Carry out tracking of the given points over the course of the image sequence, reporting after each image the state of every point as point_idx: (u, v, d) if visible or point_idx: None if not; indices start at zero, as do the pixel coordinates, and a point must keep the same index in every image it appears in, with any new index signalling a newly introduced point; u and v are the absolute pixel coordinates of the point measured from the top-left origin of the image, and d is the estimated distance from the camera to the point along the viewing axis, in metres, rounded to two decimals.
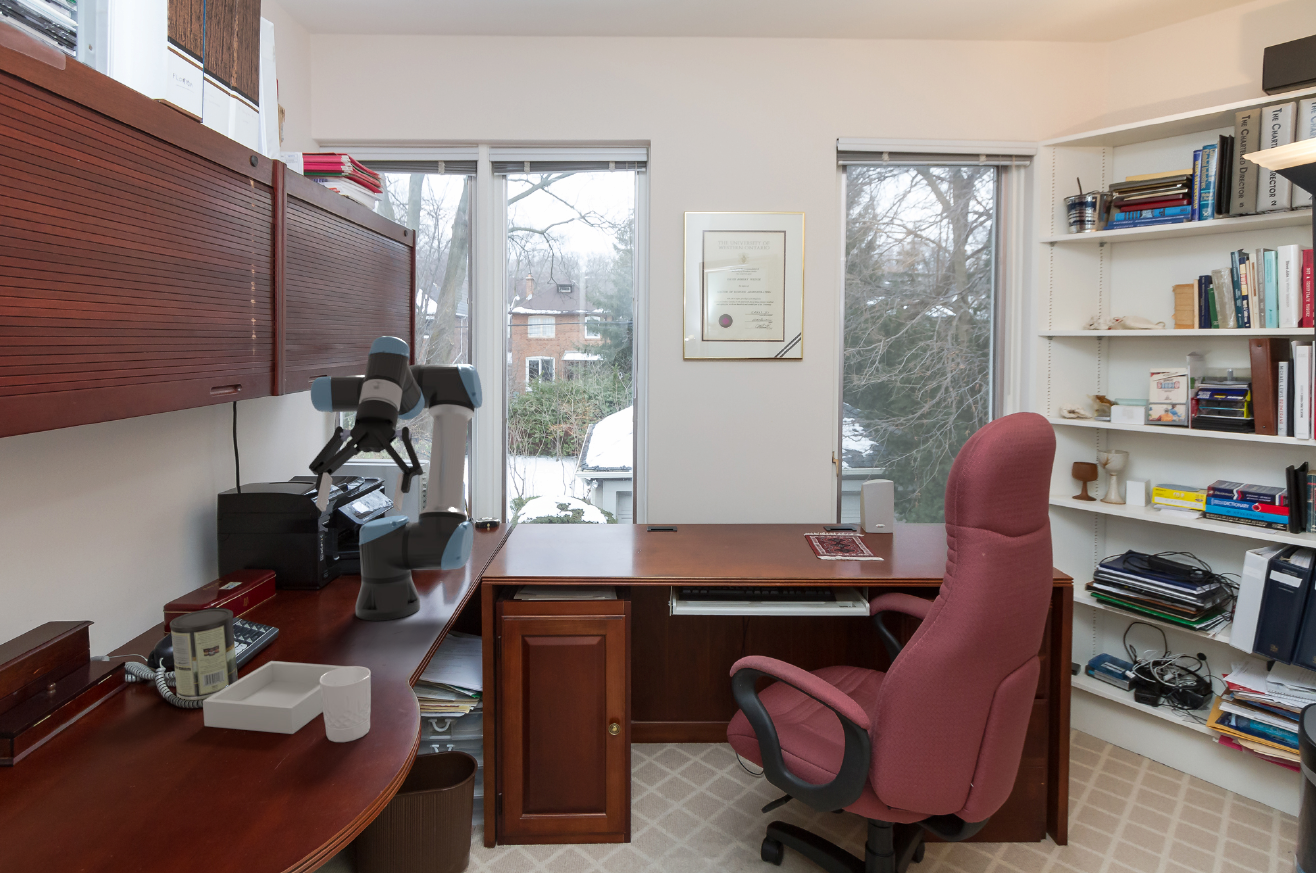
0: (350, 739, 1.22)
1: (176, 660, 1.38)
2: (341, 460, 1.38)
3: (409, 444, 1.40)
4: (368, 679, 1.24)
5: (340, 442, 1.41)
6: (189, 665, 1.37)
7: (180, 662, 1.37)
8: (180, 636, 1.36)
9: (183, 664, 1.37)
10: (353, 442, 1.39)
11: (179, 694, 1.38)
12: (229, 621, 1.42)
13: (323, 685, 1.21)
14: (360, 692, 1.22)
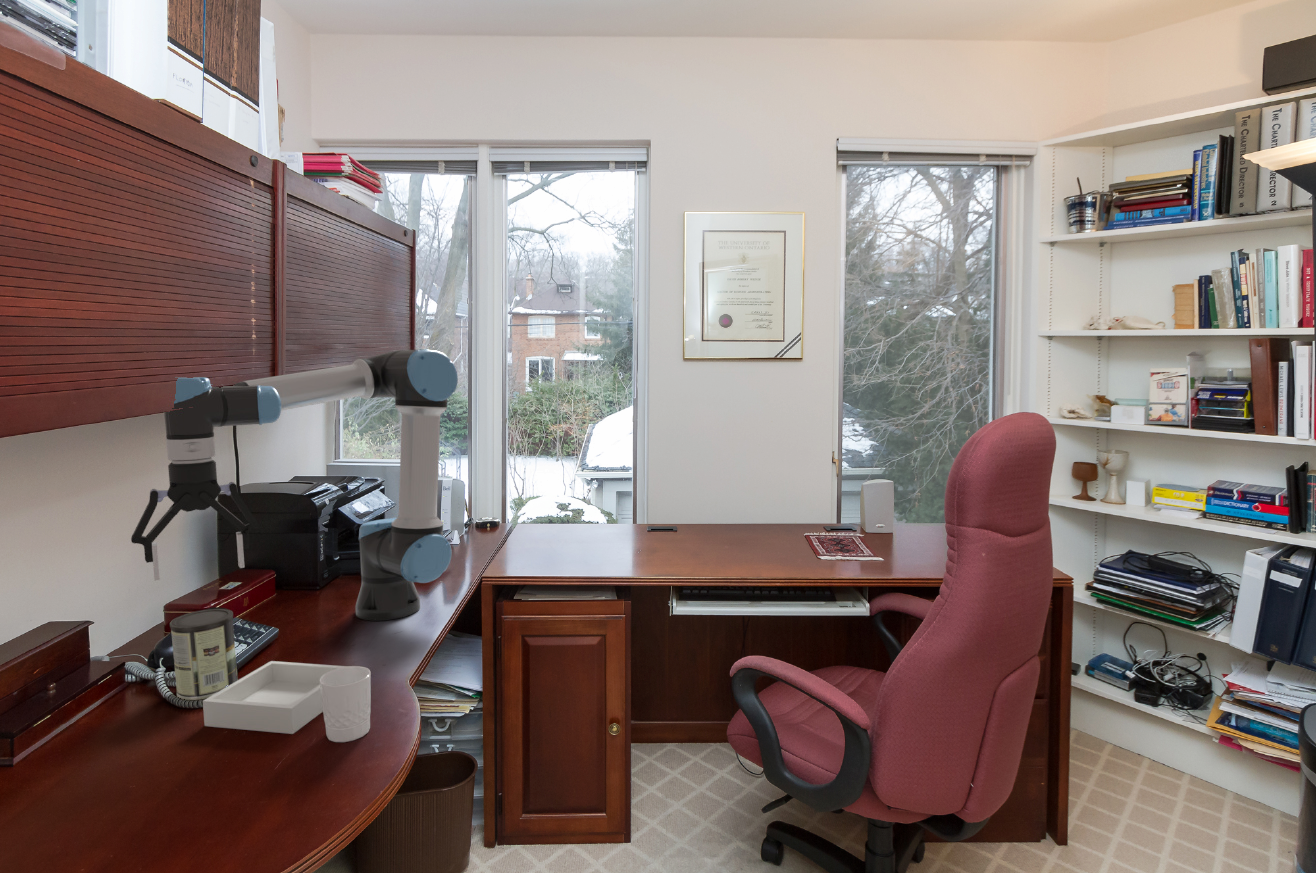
0: (350, 739, 1.22)
1: (176, 660, 1.38)
2: None
3: (241, 502, 1.42)
4: (368, 679, 1.24)
5: None
6: (189, 665, 1.37)
7: (180, 662, 1.37)
8: (181, 636, 1.36)
9: (183, 664, 1.37)
10: (178, 509, 1.36)
11: (179, 694, 1.38)
12: (229, 621, 1.42)
13: (323, 685, 1.21)
14: (360, 692, 1.22)
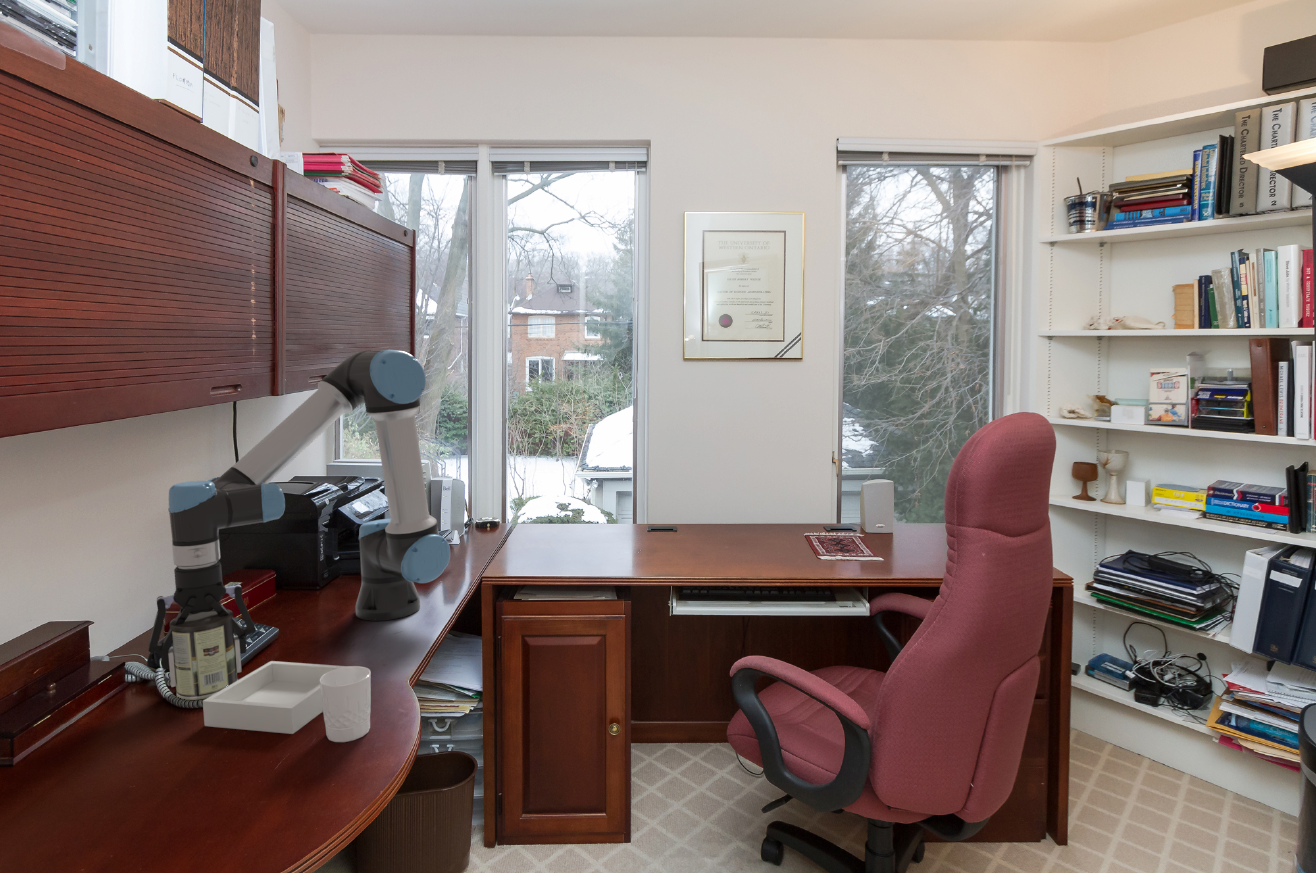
0: (350, 739, 1.22)
1: (176, 660, 1.38)
2: None
3: (243, 606, 1.44)
4: (368, 679, 1.24)
5: None
6: (189, 665, 1.37)
7: (179, 662, 1.37)
8: (180, 636, 1.36)
9: (183, 664, 1.37)
10: (187, 614, 1.38)
11: (179, 694, 1.38)
12: (229, 621, 1.42)
13: (323, 685, 1.21)
14: (360, 692, 1.22)
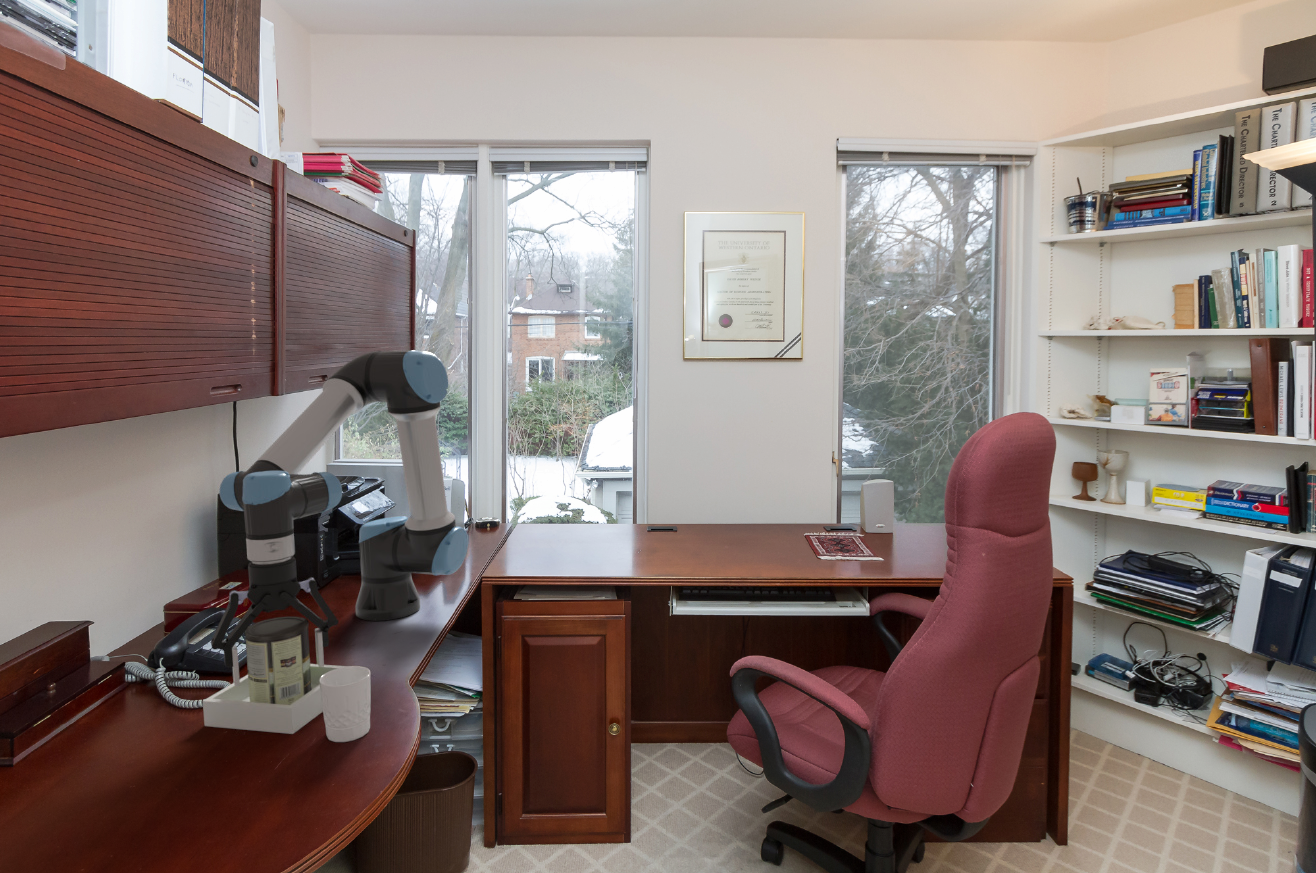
0: (350, 739, 1.22)
1: (251, 671, 1.29)
2: None
3: (321, 599, 1.36)
4: (368, 679, 1.24)
5: None
6: (266, 677, 1.29)
7: (255, 674, 1.29)
8: (257, 646, 1.28)
9: (259, 676, 1.29)
10: (259, 611, 1.30)
11: None
12: (306, 630, 1.34)
13: (323, 685, 1.21)
14: (360, 692, 1.22)
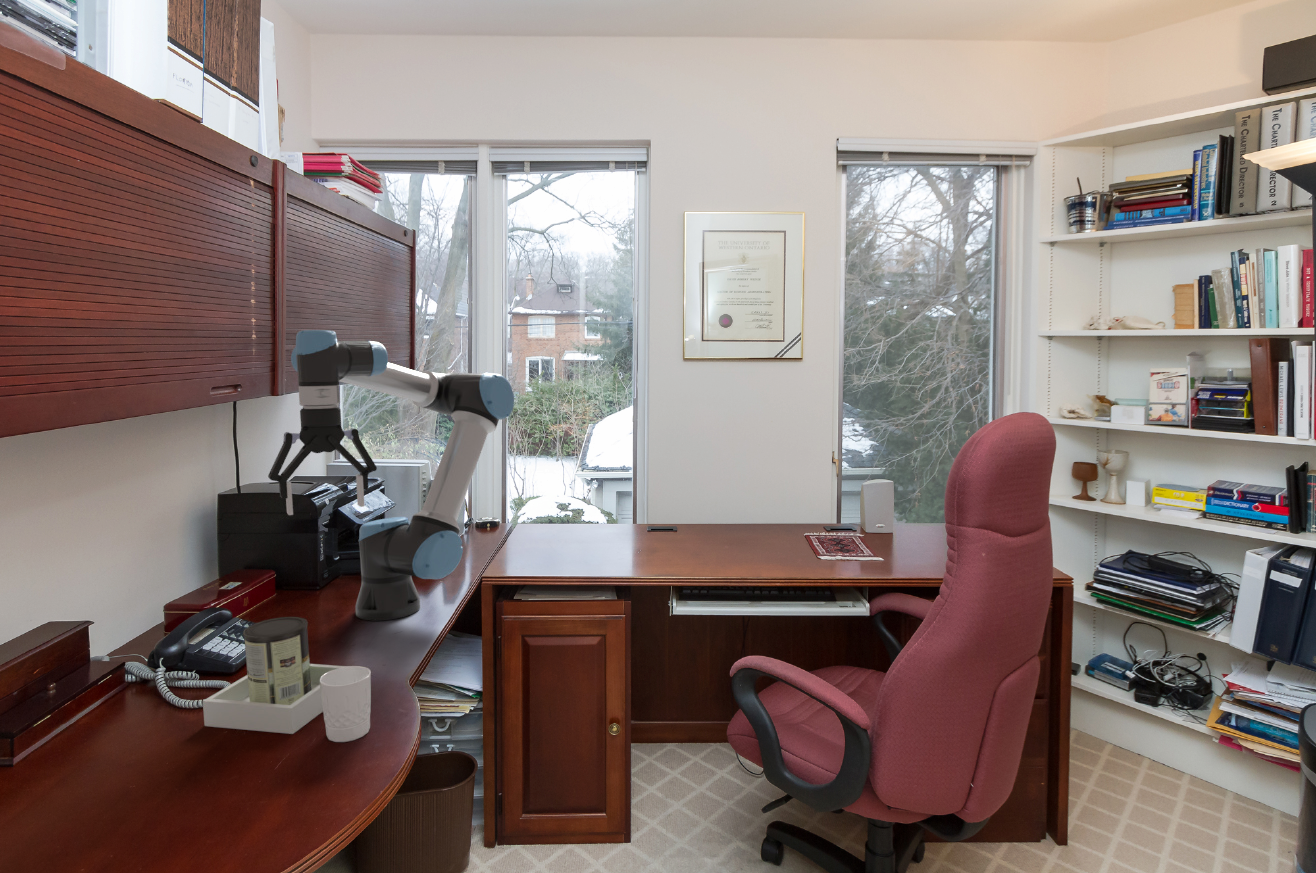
0: (350, 739, 1.22)
1: (251, 672, 1.29)
2: None
3: (362, 446, 1.55)
4: (368, 679, 1.24)
5: None
6: (265, 677, 1.29)
7: (255, 674, 1.29)
8: (256, 646, 1.28)
9: (259, 676, 1.29)
10: (309, 450, 1.49)
11: None
12: (305, 630, 1.34)
13: (323, 685, 1.21)
14: (360, 692, 1.22)
